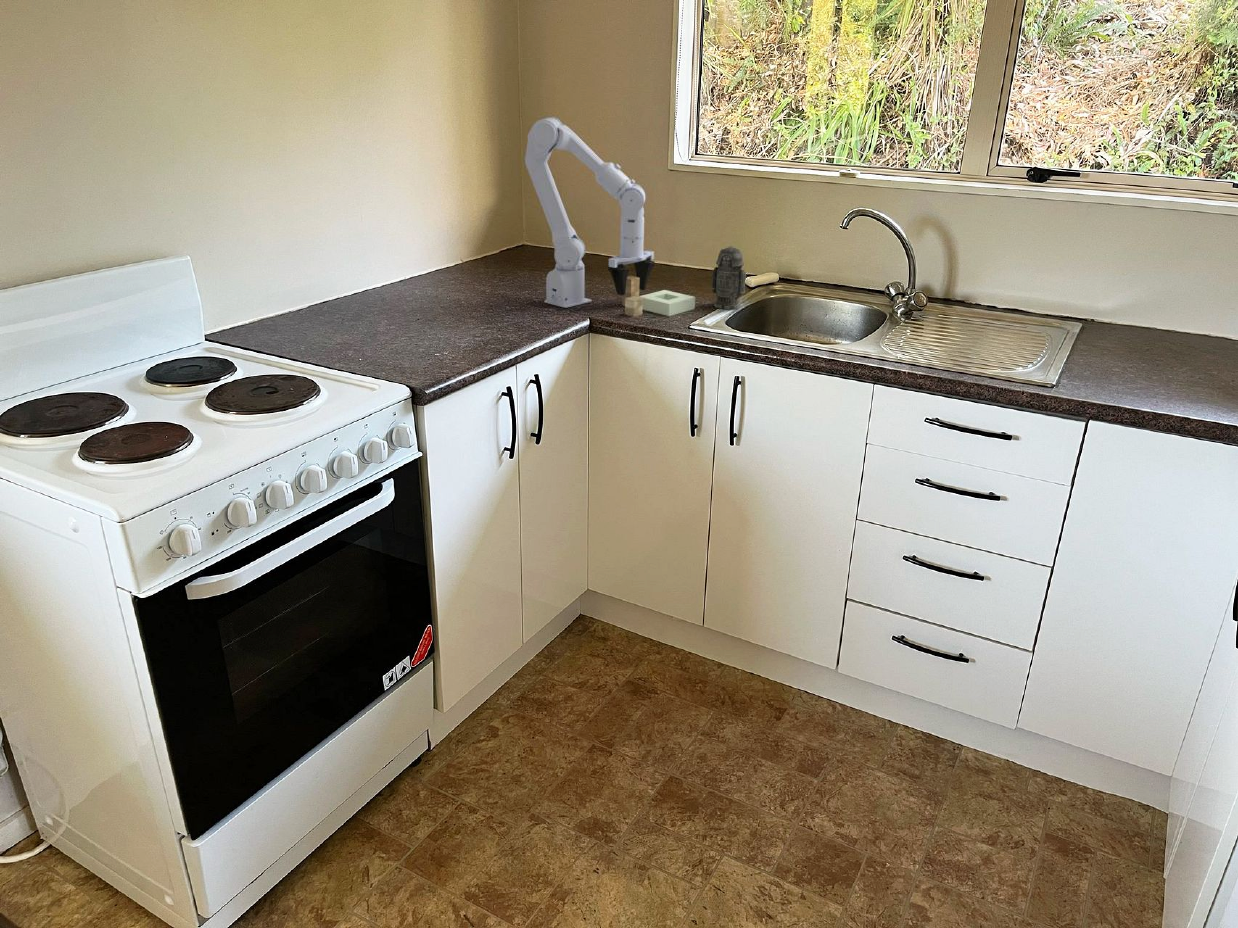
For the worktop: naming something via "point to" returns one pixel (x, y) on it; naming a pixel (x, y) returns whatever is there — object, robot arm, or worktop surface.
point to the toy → (729, 279)
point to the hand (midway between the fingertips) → (631, 292)
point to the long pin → (631, 288)
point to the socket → (667, 302)
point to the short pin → (633, 306)
